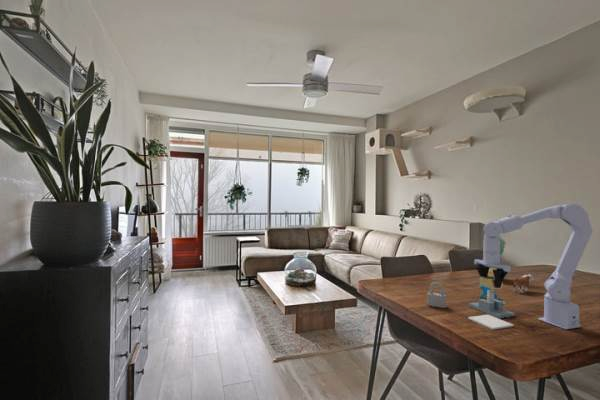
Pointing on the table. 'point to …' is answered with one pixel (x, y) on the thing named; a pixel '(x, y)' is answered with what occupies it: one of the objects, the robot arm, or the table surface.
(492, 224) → the robot arm
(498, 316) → the vise
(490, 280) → the sleeve
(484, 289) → the gear
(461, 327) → the table surface
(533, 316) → the table surface
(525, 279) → the bull figurine
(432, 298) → the padlock
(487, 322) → the mat
